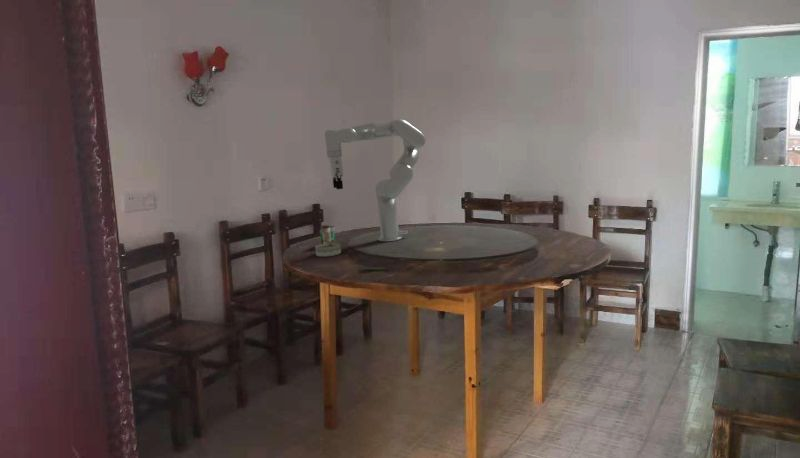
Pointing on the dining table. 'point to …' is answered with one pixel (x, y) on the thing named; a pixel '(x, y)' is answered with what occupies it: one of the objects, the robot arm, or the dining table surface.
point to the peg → (326, 235)
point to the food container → (331, 234)
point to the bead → (328, 250)
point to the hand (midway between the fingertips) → (338, 188)
